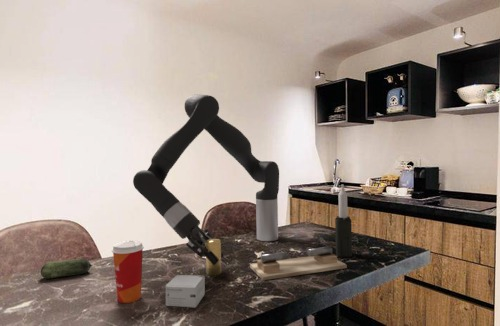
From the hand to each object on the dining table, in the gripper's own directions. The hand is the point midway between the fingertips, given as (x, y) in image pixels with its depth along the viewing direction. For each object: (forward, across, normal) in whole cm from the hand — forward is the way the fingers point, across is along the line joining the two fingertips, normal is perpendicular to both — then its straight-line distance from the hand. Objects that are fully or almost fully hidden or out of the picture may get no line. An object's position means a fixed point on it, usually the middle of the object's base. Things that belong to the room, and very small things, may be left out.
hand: (219, 259), depth 100 cm
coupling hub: (+2, 0, +4) cm, 5 cm away
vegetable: (-30, -9, +36) cm, 47 cm away
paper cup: (-9, -21, +16) cm, 28 cm away
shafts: (+17, +9, -16) cm, 25 cm away
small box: (+1, -19, +5) cm, 20 cm away
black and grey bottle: (+30, +24, -24) cm, 46 cm away
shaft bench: (+19, +9, -13) cm, 25 cm away
